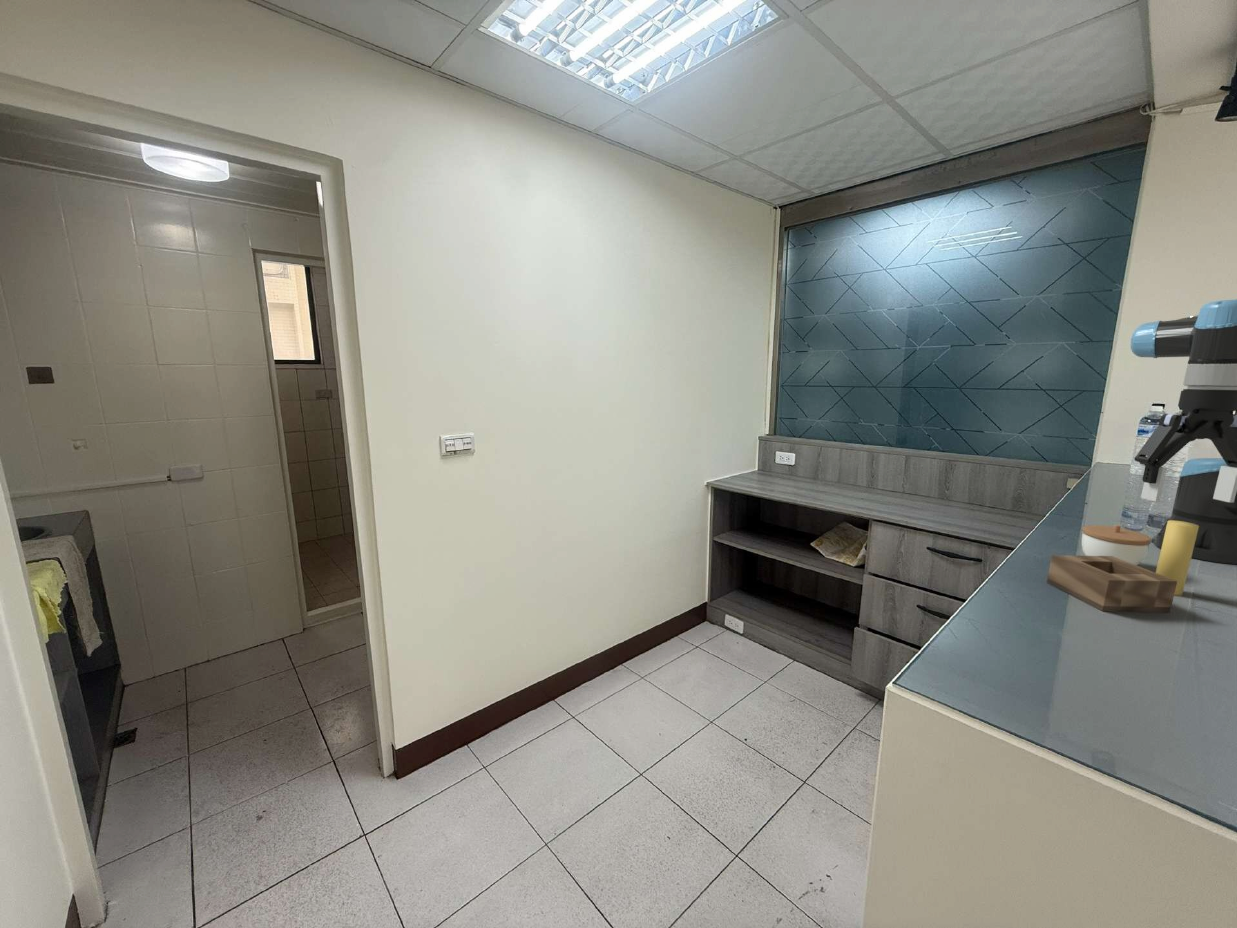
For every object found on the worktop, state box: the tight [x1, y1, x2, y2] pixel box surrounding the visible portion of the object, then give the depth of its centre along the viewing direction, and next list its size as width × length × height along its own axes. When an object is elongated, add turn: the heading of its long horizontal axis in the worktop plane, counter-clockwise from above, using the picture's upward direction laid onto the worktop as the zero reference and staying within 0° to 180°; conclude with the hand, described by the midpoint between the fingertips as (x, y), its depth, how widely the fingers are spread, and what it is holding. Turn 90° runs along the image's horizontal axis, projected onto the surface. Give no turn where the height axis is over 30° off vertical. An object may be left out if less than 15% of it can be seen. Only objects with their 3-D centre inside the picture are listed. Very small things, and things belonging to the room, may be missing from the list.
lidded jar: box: [1081, 524, 1152, 566], centre depth 109 cm, size 11×11×9 cm
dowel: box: [1155, 519, 1199, 597], centre depth 96 cm, size 4×4×14 cm
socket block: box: [1046, 554, 1177, 613], centre depth 94 cm, size 12×12×6 cm
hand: (1186, 500), depth 93 cm, fingers open, 13 cm apart
